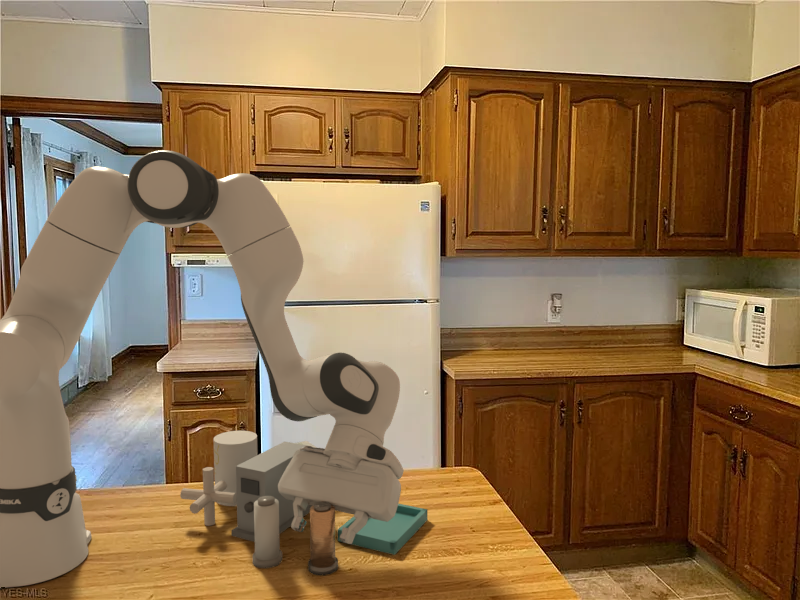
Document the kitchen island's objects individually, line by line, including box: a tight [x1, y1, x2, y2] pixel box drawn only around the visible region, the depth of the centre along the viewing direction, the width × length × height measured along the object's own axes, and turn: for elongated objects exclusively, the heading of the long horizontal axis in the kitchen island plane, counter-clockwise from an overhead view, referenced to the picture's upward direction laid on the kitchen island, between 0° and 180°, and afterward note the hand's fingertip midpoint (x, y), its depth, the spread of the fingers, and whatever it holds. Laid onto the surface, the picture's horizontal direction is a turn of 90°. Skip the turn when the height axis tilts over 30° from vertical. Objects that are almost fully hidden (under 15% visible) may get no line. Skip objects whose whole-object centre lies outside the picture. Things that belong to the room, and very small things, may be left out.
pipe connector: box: [179, 466, 237, 527], centre depth 113 cm, size 10×10×10 cm
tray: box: [336, 503, 428, 556], centre depth 111 cm, size 11×14×2 cm
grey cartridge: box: [252, 496, 283, 569], centre depth 100 cm, size 5×5×10 cm
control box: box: [231, 441, 313, 543], centre depth 114 cm, size 7×16×12 cm, turn 155°
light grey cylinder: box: [213, 430, 259, 507], centre depth 124 cm, size 8×8×12 cm
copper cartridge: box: [307, 501, 339, 577], centre depth 98 cm, size 5×5×10 cm
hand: (320, 535), depth 98 cm, fingers open, 7 cm apart
